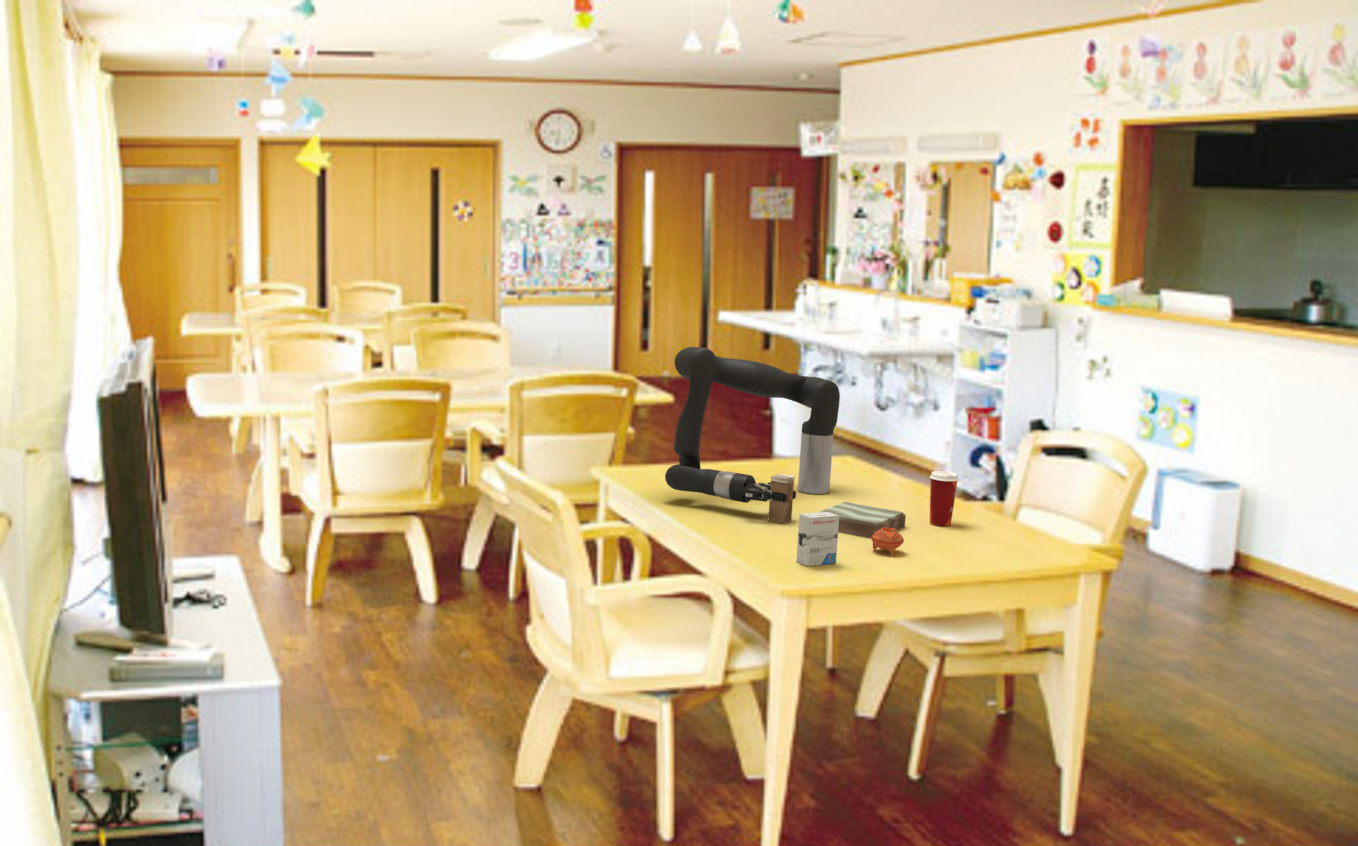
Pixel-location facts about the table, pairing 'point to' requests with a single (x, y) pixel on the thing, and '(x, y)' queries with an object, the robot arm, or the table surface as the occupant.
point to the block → (777, 509)
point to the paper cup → (942, 497)
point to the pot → (887, 539)
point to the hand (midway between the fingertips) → (790, 496)
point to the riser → (865, 519)
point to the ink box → (817, 538)
